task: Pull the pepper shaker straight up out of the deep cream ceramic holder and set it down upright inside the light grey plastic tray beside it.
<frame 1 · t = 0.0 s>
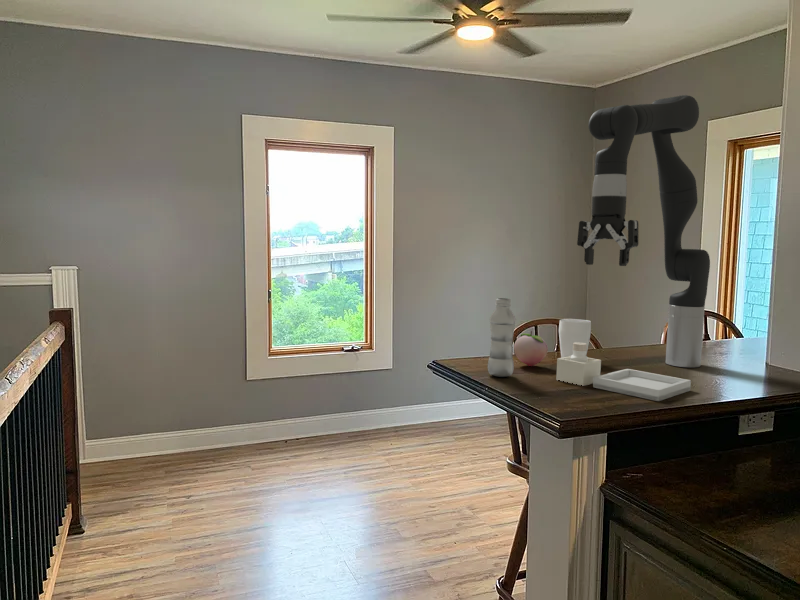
hand: (605, 265, 141), 29 cm above the table, tool pointing down, fingers open, 8 cm apart
holder: (578, 380, 150), on the table
decorative fruit: (529, 367, 166), on the table
tray: (641, 388, 143), on the table
pepper shaker: (578, 381, 150), resting in holder
plastic bottle: (500, 377, 154), on the table
cup: (573, 362, 175), on the table
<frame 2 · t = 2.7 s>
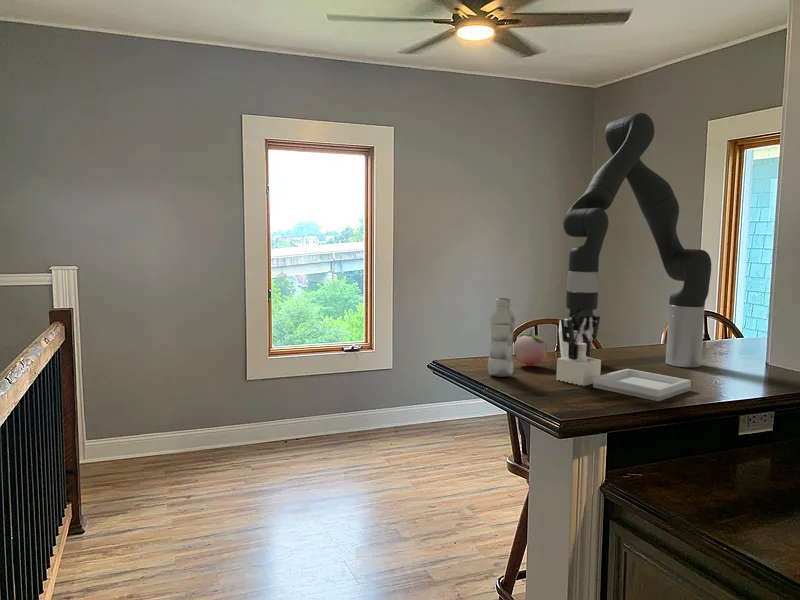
hand: (579, 357, 150), 6 cm above the table, tool pointing down, fingers closed on pepper shaker, 5 cm apart
pepper shaker: (577, 381, 150), resting in holder, touching gripper
everything else where it was.
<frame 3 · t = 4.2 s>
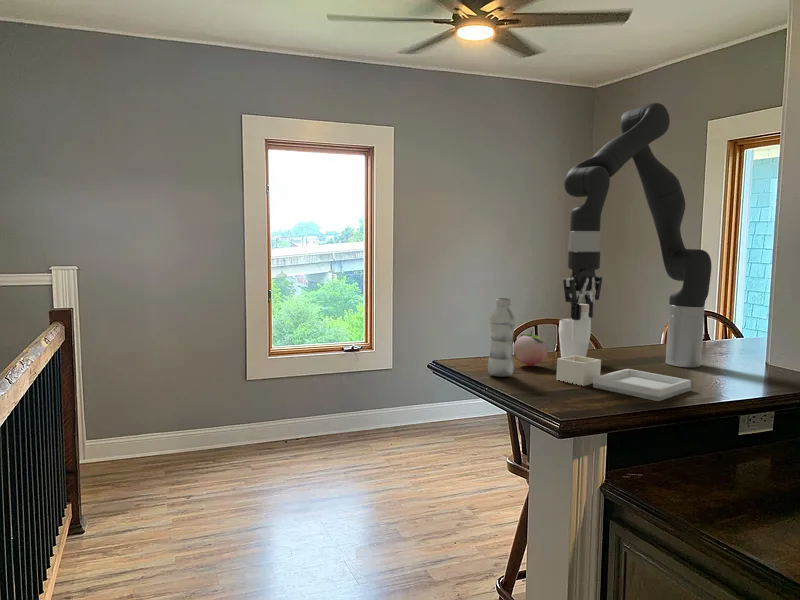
hand: (581, 318, 149), 16 cm above the table, tool pointing down, fingers closed on pepper shaker, 5 cm apart
pepper shaker: (580, 343, 149), point 10 cm above the table, touching gripper
everything else where it was.
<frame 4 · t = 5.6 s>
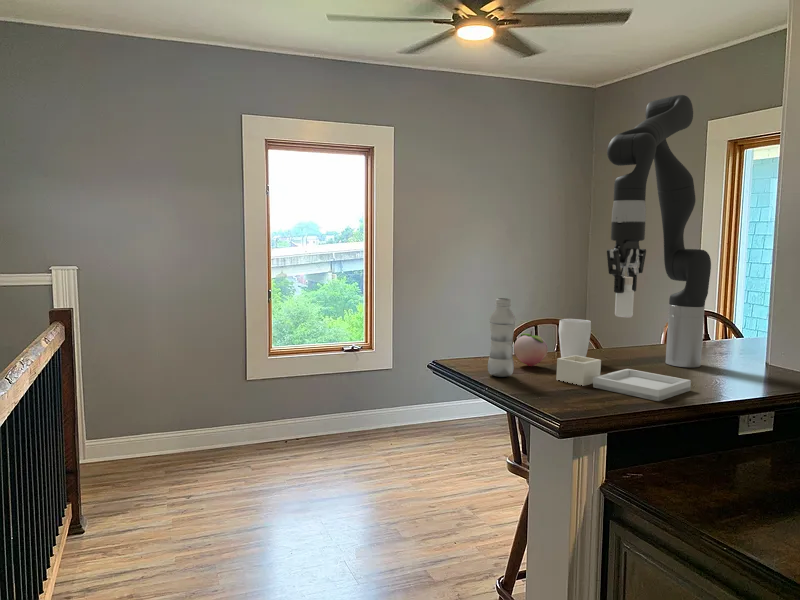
hand: (625, 291, 143), 23 cm above the table, tool pointing down, fingers closed on pepper shaker, 5 cm apart
pepper shaker: (623, 317, 144), point 17 cm above the table, touching gripper
everything else where it was.
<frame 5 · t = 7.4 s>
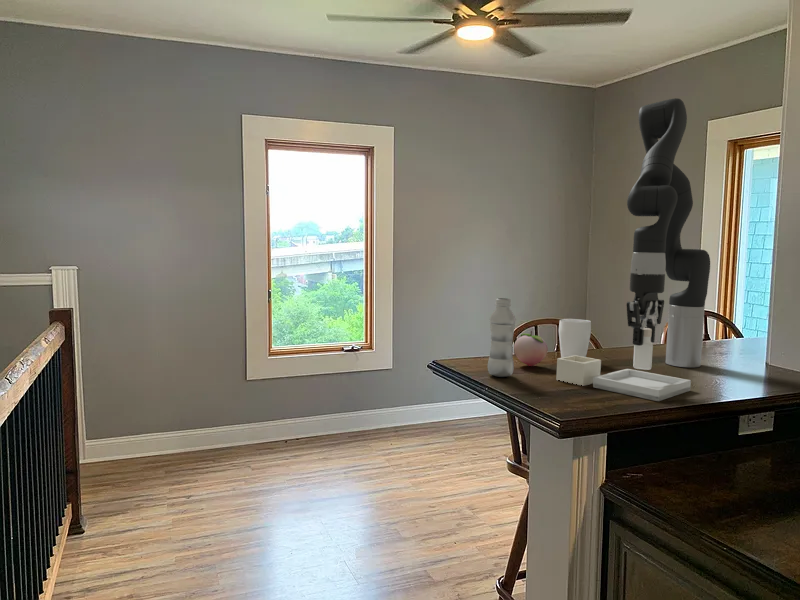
hand: (643, 343, 142), 11 cm above the table, tool pointing down, fingers closed on pepper shaker, 5 cm apart
pepper shaker: (641, 368, 143), point 5 cm above the table, touching gripper
everything else where it was.
when the fingers open (8 cm above the table, at t = 8.5 s): pepper shaker stays where it is, resting on tray.
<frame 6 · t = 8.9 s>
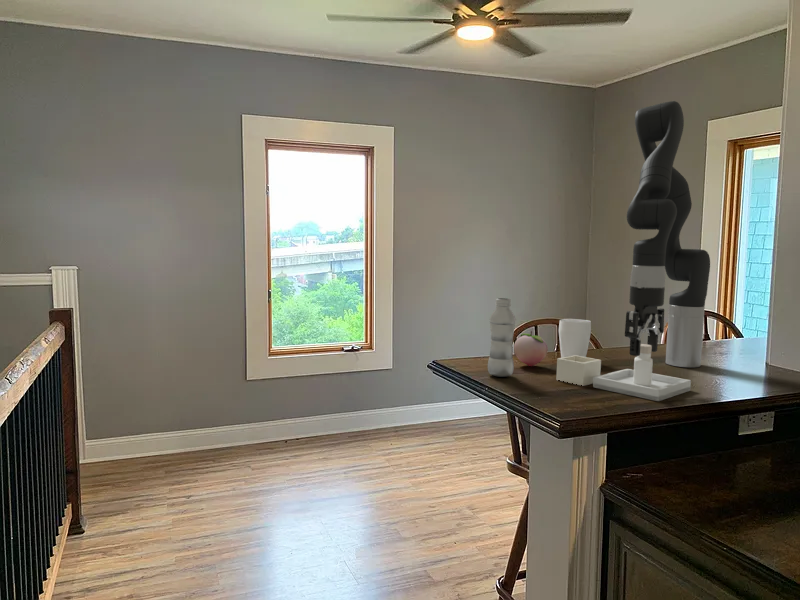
hand: (643, 353, 142), 9 cm above the table, tool pointing down, fingers open, 8 cm apart
pepper shaker: (641, 385, 143), point 1 cm above the table, touching tray
everything else where it was.
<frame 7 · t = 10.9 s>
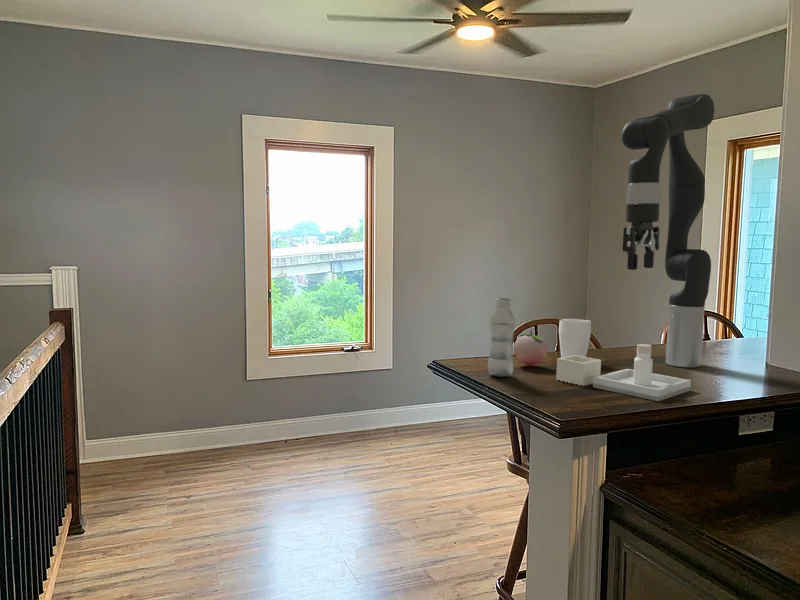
hand: (640, 268, 148), 28 cm above the table, tool pointing down, fingers open, 8 cm apart
nothing on the table moved.
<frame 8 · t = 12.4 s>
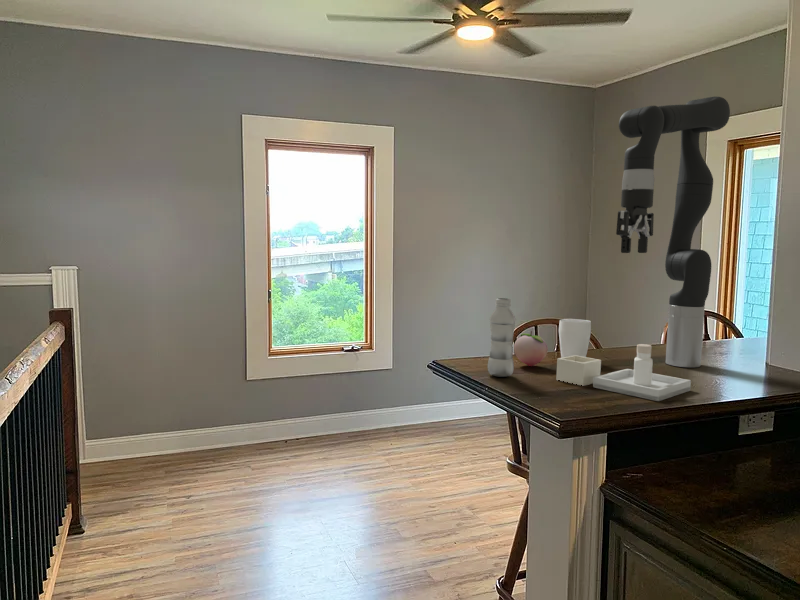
hand: (634, 253, 153), 32 cm above the table, tool pointing down, fingers open, 8 cm apart
nothing on the table moved.
at the end: pepper shaker inside the target area on the tray (0.2 cm from its centre), point 0.8 cm above the tray's base; pepper shaker tilted 0°; the gripper is holding nothing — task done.
